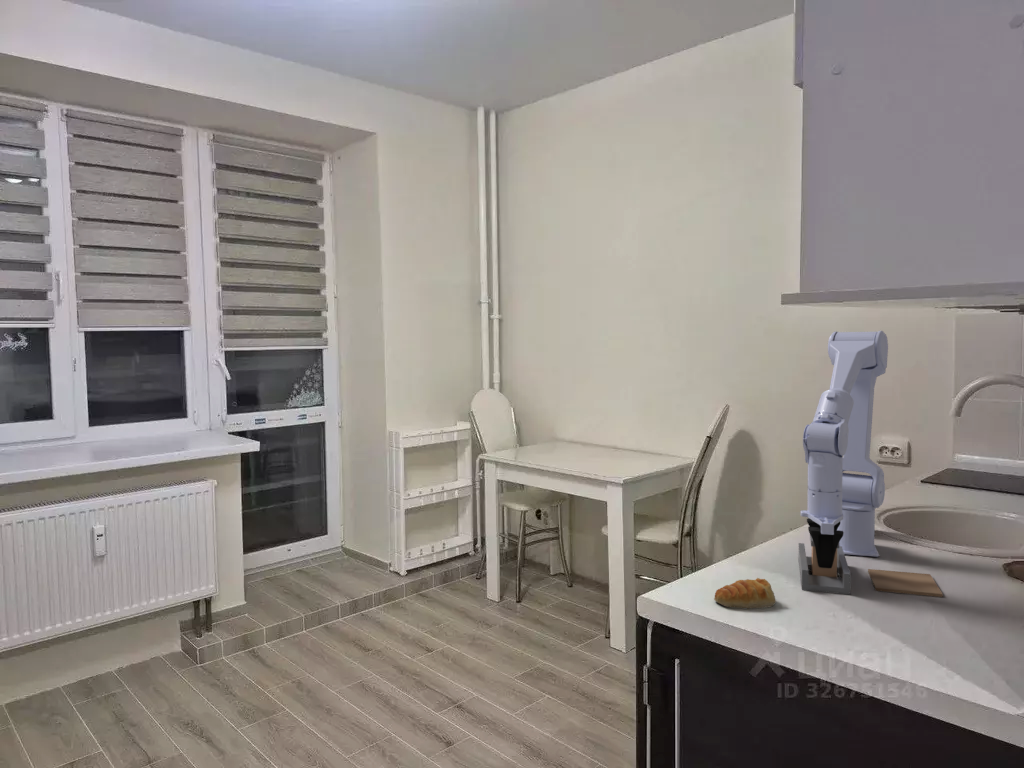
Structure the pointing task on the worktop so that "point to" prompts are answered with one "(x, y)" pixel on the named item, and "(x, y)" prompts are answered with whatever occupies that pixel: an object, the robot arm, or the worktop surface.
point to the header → (824, 582)
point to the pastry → (746, 594)
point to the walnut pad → (904, 582)
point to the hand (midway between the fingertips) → (824, 562)
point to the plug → (818, 570)
